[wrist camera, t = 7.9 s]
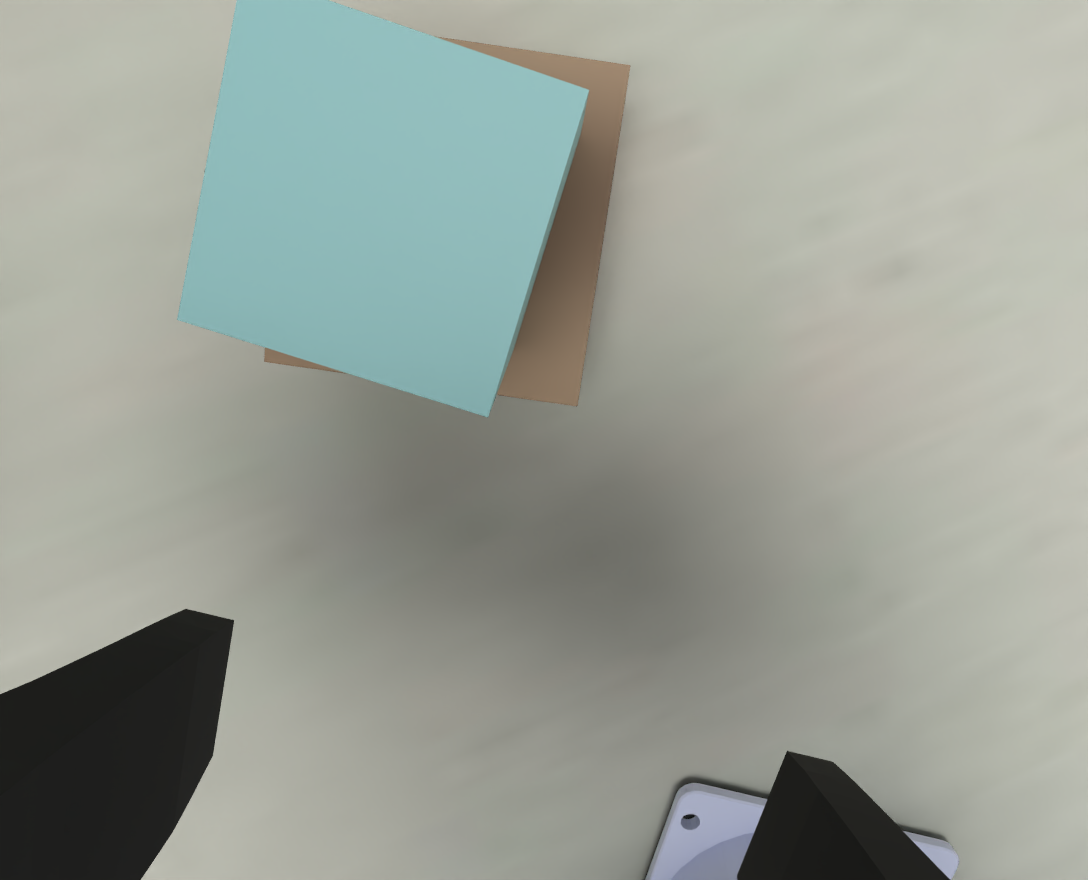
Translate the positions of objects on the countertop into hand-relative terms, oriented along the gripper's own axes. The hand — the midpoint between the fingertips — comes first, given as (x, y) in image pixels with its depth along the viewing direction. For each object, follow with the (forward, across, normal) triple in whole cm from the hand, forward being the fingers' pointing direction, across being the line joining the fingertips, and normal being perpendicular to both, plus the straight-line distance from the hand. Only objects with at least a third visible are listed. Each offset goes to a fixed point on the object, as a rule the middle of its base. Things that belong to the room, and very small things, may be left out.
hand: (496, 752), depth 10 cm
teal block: (+6, +3, -6) cm, 9 cm away
